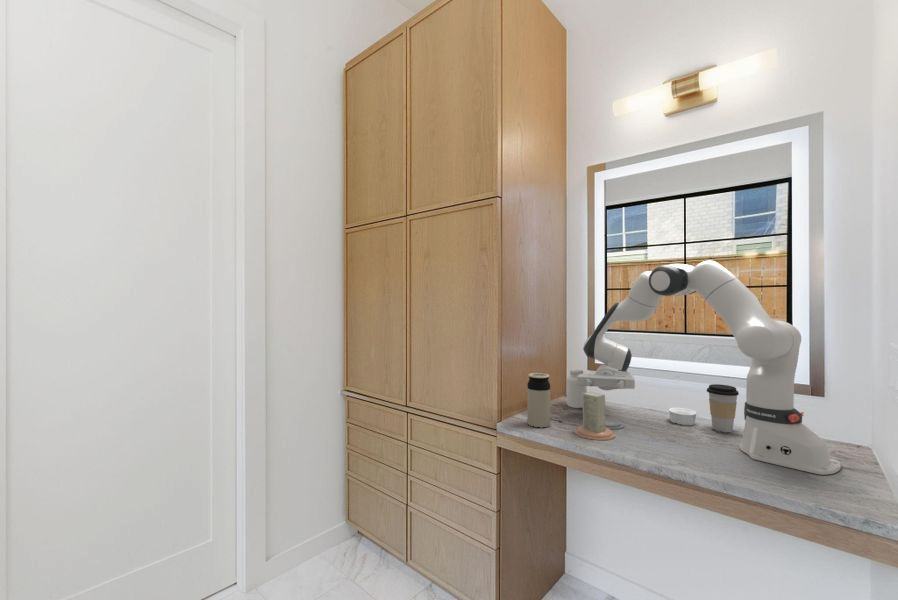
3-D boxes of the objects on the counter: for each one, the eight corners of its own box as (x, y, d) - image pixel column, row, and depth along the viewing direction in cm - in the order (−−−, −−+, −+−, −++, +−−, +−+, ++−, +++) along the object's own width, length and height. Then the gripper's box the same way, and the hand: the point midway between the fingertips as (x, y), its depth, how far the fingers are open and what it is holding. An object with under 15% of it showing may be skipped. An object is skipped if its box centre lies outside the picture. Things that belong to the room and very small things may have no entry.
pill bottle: (563, 403, 179) (564, 369, 178) (581, 403, 179) (581, 368, 179) (571, 408, 171) (571, 372, 171) (589, 408, 172) (590, 372, 171)
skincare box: (606, 431, 139) (606, 394, 139) (597, 433, 136) (598, 396, 136) (590, 426, 144) (590, 391, 144) (581, 428, 141) (582, 392, 141)
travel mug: (554, 425, 148) (555, 375, 148) (539, 429, 144) (539, 377, 144) (538, 420, 155) (538, 371, 155) (522, 423, 150) (522, 374, 150)
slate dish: (631, 425, 149) (631, 422, 149) (608, 432, 142) (608, 428, 142) (600, 416, 160) (600, 413, 160) (578, 422, 153) (578, 418, 153)
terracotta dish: (623, 435, 138) (623, 432, 138) (598, 443, 131) (598, 439, 131) (591, 425, 149) (591, 421, 149) (566, 431, 142) (566, 428, 142)
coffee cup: (744, 435, 139) (744, 390, 139) (712, 433, 141) (713, 388, 141) (730, 426, 148) (731, 384, 148) (701, 424, 150) (702, 383, 150)
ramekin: (702, 424, 150) (702, 412, 150) (684, 427, 147) (684, 415, 147) (680, 418, 159) (680, 406, 159) (663, 420, 155) (663, 409, 155)
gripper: (578, 368, 166) (573, 374, 153) (634, 371, 158) (634, 377, 145) (578, 384, 166) (574, 391, 153) (634, 388, 158) (635, 395, 145)
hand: (604, 384), depth 149 cm, fingers open, 8 cm apart
